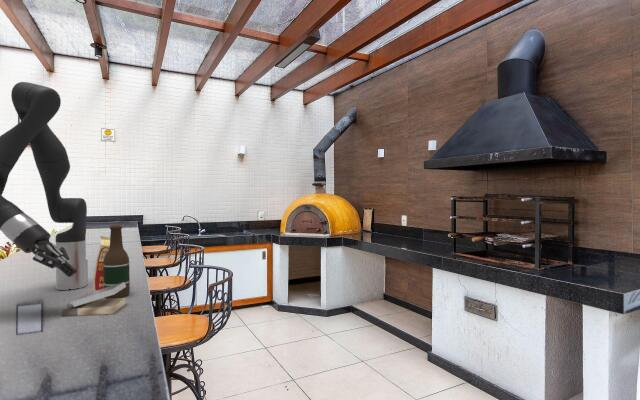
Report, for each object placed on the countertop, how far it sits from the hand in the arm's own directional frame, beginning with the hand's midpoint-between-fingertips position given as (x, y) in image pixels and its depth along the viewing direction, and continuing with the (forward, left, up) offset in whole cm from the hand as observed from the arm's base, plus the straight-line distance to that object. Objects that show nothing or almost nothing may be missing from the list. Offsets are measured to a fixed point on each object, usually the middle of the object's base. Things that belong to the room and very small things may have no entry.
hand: (73, 274), depth 105 cm
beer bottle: (-17, +1, -11) cm, 21 cm away
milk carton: (-23, -6, -11) cm, 27 cm away
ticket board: (-3, +5, -11) cm, 12 cm away
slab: (-1, 0, -8) cm, 8 cm away
